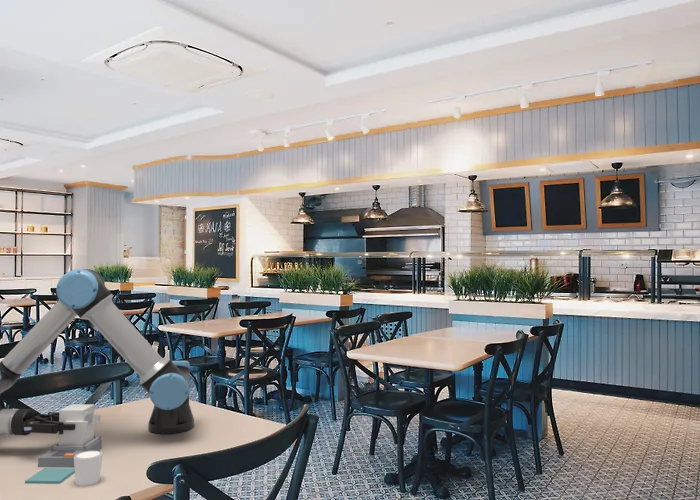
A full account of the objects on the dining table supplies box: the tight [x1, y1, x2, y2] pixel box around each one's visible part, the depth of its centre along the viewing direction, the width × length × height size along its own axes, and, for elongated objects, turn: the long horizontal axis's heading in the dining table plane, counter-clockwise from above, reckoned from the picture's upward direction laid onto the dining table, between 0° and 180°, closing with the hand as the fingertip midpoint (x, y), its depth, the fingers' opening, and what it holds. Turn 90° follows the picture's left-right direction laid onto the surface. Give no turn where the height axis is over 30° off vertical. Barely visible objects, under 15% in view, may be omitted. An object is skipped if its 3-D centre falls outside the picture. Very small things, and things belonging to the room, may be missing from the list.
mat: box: [24, 467, 75, 484], centre depth 146 cm, size 9×9×1 cm
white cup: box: [73, 450, 104, 487], centre depth 143 cm, size 7×7×7 cm
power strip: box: [37, 435, 103, 468], centre depth 166 cm, size 10×24×4 cm, turn 0°
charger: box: [58, 403, 95, 446], centre depth 165 cm, size 8×7×11 cm
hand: (93, 422), depth 165 cm, fingers closed on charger, 7 cm apart
